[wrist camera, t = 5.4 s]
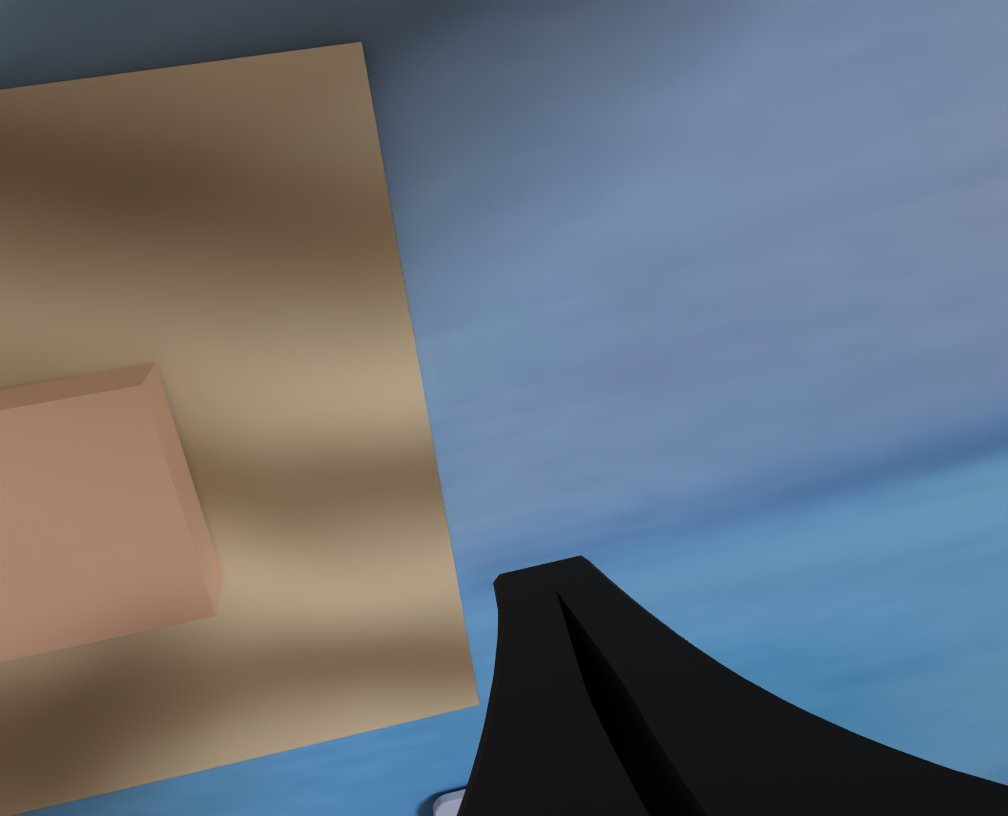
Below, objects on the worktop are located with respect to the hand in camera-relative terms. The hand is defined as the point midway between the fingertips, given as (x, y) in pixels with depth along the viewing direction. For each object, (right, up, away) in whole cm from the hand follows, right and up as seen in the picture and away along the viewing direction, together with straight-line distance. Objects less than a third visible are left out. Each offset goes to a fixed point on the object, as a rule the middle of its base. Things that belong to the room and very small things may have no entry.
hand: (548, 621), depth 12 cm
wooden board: (-10, +1, +8) cm, 13 cm away
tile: (-8, +1, +7) cm, 11 cm away
